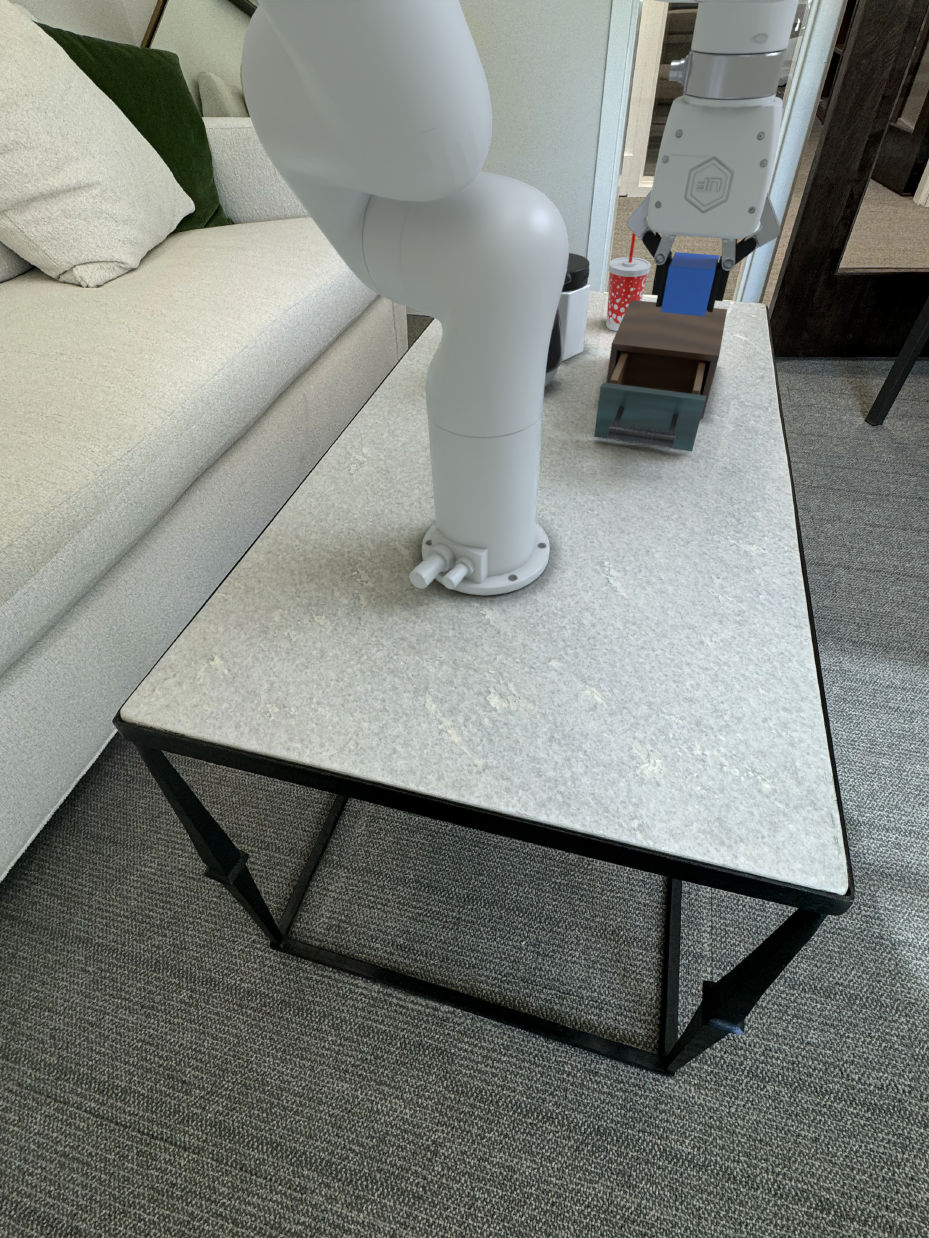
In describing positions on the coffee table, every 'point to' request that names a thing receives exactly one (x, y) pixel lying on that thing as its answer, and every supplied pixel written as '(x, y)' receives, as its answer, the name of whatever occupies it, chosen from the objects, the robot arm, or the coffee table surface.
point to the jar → (574, 306)
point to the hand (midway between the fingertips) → (685, 302)
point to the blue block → (689, 283)
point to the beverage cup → (625, 285)
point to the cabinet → (670, 337)
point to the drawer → (652, 401)
